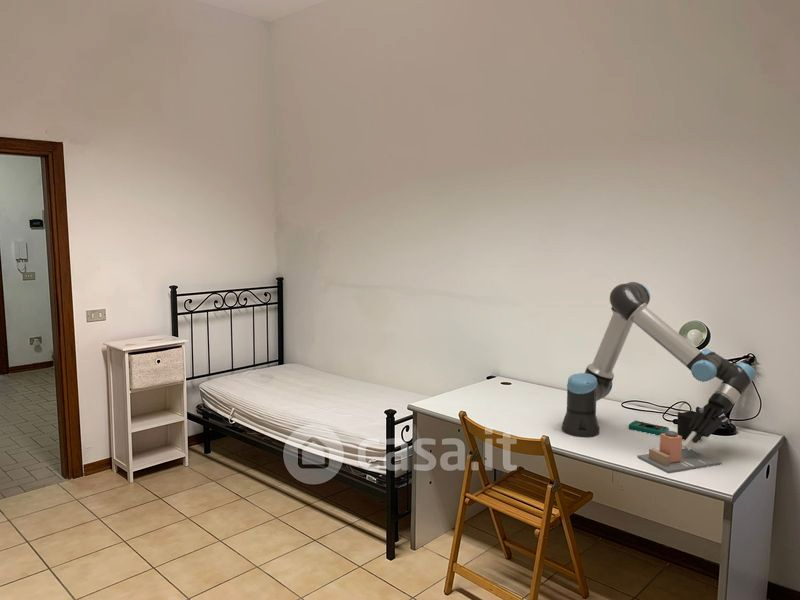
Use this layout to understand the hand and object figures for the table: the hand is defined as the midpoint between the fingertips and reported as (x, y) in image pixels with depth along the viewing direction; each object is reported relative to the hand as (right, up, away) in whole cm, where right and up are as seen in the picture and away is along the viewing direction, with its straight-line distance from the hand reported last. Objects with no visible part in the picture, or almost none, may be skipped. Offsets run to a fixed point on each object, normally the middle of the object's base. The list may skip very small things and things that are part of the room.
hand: (685, 447), depth 211 cm
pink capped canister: (-7, -4, -2) cm, 8 cm away
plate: (-3, -5, 0) cm, 5 cm away
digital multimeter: (0, -2, +33) cm, 33 cm away
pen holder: (+13, -2, +24) cm, 28 cm away
